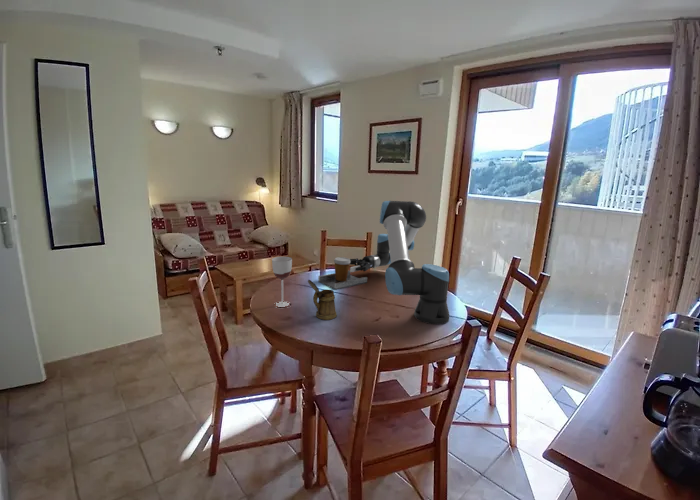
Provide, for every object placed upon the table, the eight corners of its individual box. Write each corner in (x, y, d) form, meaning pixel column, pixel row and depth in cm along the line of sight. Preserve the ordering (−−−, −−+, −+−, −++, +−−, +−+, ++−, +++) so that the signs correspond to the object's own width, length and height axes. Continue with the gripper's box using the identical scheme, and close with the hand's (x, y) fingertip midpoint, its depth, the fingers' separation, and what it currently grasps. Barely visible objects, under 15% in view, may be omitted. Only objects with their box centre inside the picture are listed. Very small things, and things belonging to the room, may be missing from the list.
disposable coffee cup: (347, 282, 202) (349, 262, 199) (331, 280, 203) (332, 260, 200) (350, 278, 211) (352, 258, 208) (334, 276, 212) (335, 256, 210)
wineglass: (269, 307, 166) (268, 260, 161) (278, 300, 175) (277, 255, 170) (287, 309, 164) (286, 262, 159) (295, 302, 173) (295, 257, 168)
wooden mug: (303, 316, 157) (303, 276, 153) (329, 310, 164) (330, 272, 160) (312, 324, 150) (313, 282, 146) (340, 317, 157) (341, 277, 153)
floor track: (348, 275, 218) (349, 270, 217) (366, 282, 205) (367, 277, 205) (318, 281, 204) (318, 276, 203) (335, 289, 192) (335, 284, 191)
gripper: (385, 272, 207) (356, 279, 194) (357, 263, 226) (329, 268, 213) (385, 260, 206) (357, 265, 193) (357, 251, 224) (329, 255, 211)
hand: (342, 266), depth 203 cm, fingers open, 13 cm apart
